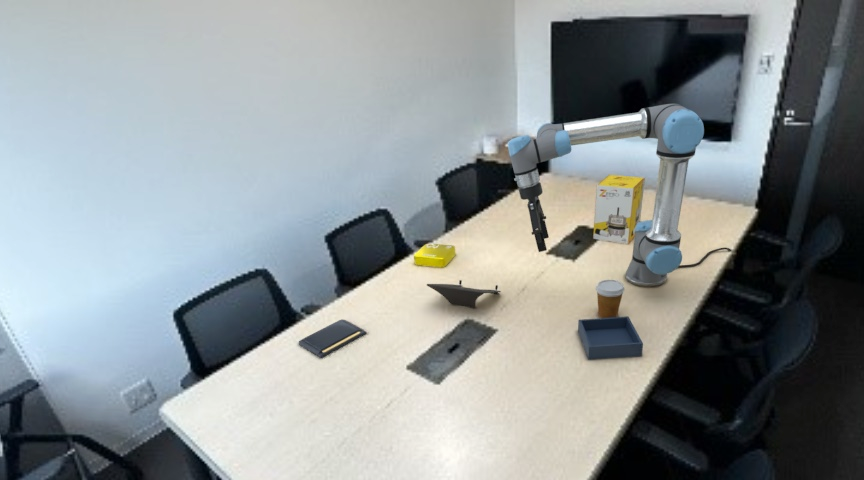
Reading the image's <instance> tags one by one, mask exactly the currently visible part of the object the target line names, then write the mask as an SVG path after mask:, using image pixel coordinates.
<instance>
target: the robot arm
mask: <svg viewBox="0 0 864 480" xmlns="http://www.w3.org/2000/svg"><path fill="white" fill-rule="evenodd" d="M704 135H705V127H704V122H703V120H702V119H701V118H700V116H699V115H698V114H697V113H696V112H694V111H693V110H691V109H689V108H686V107H685V106H683V105H682V104H678V103H667V104H666V103H665V104H659V105H655V106H649V107H643V108H641V109H640V110H639V111H638V112H632V113H631V112H630V113H624V114H617V115H610V116H604V117H597V118H590V119H583V120H576V121H570V122H563V123H556V124H553V123H550V122H545V123H543V124H542V125H540V126H539V128H538V129H537V132H536V138H534V139H531V137H530V135H529V134H523V135H520V136H517V137H514V138H512V139H510V140H509V141H508V142H507V149H508V155H509V158H510V162H511V166H512V168H513V169H512V170H513V173H514V176H515V178H513V179H514V181H515V182H516V184H517V187H518V193H519V196H520V199H521V200H527V201H528V202H527V204H526V205H527V208H528V213H529V218H530V219H529V220H530V224H531V230H532V232H531V235H534V239H535V242H536V243H535V244H536V247H537V250H538V253H541V252H545V251H547V250H548V248H547V245H546V241H545V240H546V239H548V238H550V237H549V232H548V228H547V223H546V219H547V216H546V215H545V213H544V210H543V207H542V203H541V200H540V198H539V196H541V195H542V194H543V187H542V183H541V182H540V181H541V177H540V174H539V169H538V166H537V164H541V163H543V162H547V161H549V160H554V159H557V158H562V157H563V156H567V155H568V154H570V153H571V152H572V146H580V145H585V144H593V143H599V142H606V141H607V142H609V141H614V140H623V139H630V138H637V137H639V138H641V139H642V140H645V139H656V140H657V144H656V151H655V152H656V153H655V155H656V156H657V157H658V158H659V166H658V174H657V181H656V190H655V196H654V203H653V204H654V205H653V212H652V219H649V220H648V219H647V220H640V222H639V223H637V225H636V229H635V236H634V238H633V247H632V257H631V261H630V262H629V264H628V267H627V269H626V271H625V276H624V277H625V280H626V281H627V282H628V283H630V284H631V285H634V286H637V287H642V288H653V287H654V288H655V287H659V286H662V285H664V284H665V283H666V281H667V279H668V275H669V274H671V273H672V272H674V271H675V270H677V269H679V268H690V267H696V266H699V265H700V264H701V263H702V262H703V261H704V260H705V259H706V258H707V257H708V256H709V255H710V254H712V253H715V252H719V251H725V250H727V251H728V252H732V249H731V248H729V247H719V248H716V249H713V250H712V249H711V250H710V251H708V252H707V253H706V254H705V255H704V256H703V257H701V259H700V260H699V261H698V262H696V263H692V264H682V260H683V254H682V253H683V252H682V250H681V249H680V245H681V240H682V239H681V238H682V233H681V232H680V231H679V222H680V218H681V217H680V216H681V215H680V214H681V211H682V204H683V199H684V193H685V192H684V191H685V185H686V180H687V174H688V168H689V161H690V160H691V159H692V158H693V157H694V156H695V155H696V151H697V147H698V146H699V145H700V144H701V142H702V140H703V137H704Z"/></svg>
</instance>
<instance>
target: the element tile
mask: <svg viewBox="0 0 864 480" xmlns="http://www.w3.org/2000/svg"><path fill="white" fill-rule="evenodd" d="M455 256H456V247H455V246H454V245H450V244H440V243H426V244H424V245H423V246H422V247H420V249H419V250H417V251H416V252H415V253H414V254H413V261H414V264H415V265H416V266H420V267H421V266H422V267H423V266H424V267H429V268H430V267H432V268H445V267H446V266H448V264H449V263H450V262H451V261H452V260H453V259H454V258H455Z"/></svg>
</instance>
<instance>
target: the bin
mask: <svg viewBox="0 0 864 480" xmlns="http://www.w3.org/2000/svg"><path fill="white" fill-rule="evenodd" d="M577 321H578V323H577V333H578V336H579V338H580V341H581V344H582V346H583V350H584V352H585V355H586V357H587V360H588V361H589V360H606V359H618V358H635V357H636V358H637V357H642V356H643V349H644V343H643V341H642V339H641V337H640V335H639V333H638V332H637V329H636V328H635V326H634V324H633V322H632V320H631V319H630V317H629V316H617V317H612V318H600V317H598V318H584V319H578V320H577Z"/></svg>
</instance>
